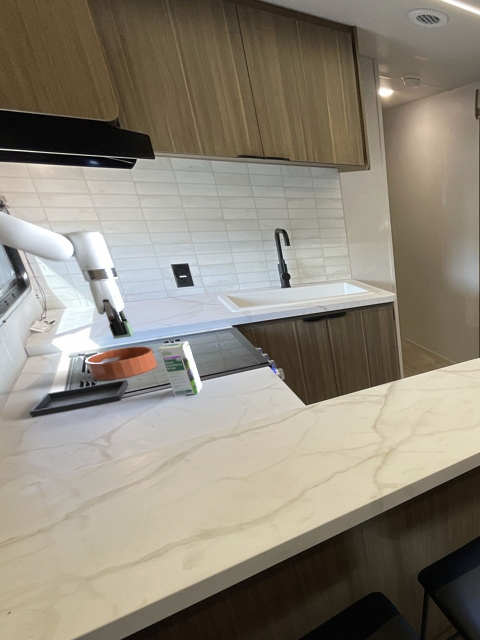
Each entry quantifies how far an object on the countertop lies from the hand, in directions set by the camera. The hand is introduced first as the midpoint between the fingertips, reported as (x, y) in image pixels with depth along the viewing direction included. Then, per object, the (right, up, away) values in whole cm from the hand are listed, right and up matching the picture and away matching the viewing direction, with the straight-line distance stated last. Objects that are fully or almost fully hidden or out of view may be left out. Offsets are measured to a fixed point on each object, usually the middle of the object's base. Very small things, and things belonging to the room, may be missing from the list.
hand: (122, 332), depth 128 cm
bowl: (-3, -12, +4) cm, 13 cm away
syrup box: (+30, -19, -11) cm, 36 cm away
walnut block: (-5, -13, +2) cm, 14 cm away
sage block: (0, -1, 0) cm, 1 cm away
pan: (+5, -21, -16) cm, 27 cm away
